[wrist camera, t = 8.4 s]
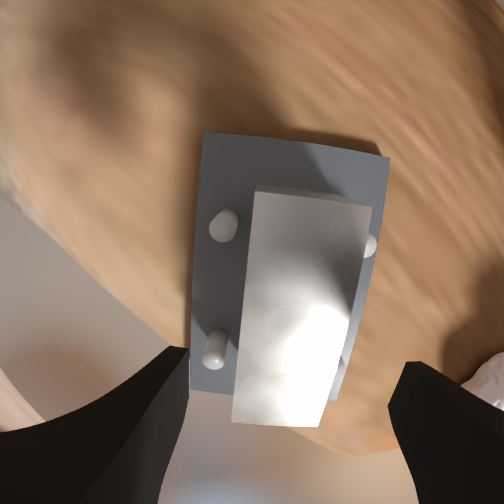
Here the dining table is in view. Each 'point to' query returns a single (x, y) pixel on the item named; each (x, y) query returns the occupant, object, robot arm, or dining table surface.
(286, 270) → the block
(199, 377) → the pin tray
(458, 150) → the dining table surface
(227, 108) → the dining table surface
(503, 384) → the bust
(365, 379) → the dining table surface
